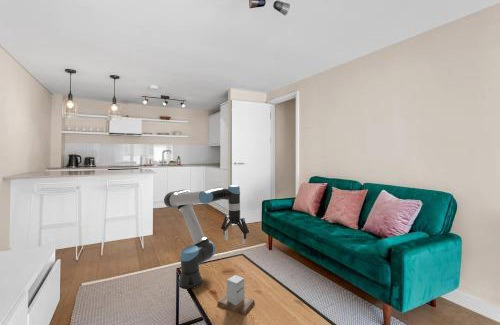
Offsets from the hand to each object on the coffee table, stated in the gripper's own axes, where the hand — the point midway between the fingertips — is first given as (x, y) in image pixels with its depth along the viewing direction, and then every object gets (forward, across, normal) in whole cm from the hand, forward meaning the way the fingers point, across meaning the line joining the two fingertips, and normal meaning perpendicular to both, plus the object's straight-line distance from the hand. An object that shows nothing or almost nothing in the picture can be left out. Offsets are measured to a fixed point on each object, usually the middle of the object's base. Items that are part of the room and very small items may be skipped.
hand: (234, 242), depth 158 cm
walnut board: (+29, +11, -16) cm, 35 cm away
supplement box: (+27, +11, -17) cm, 33 cm away
